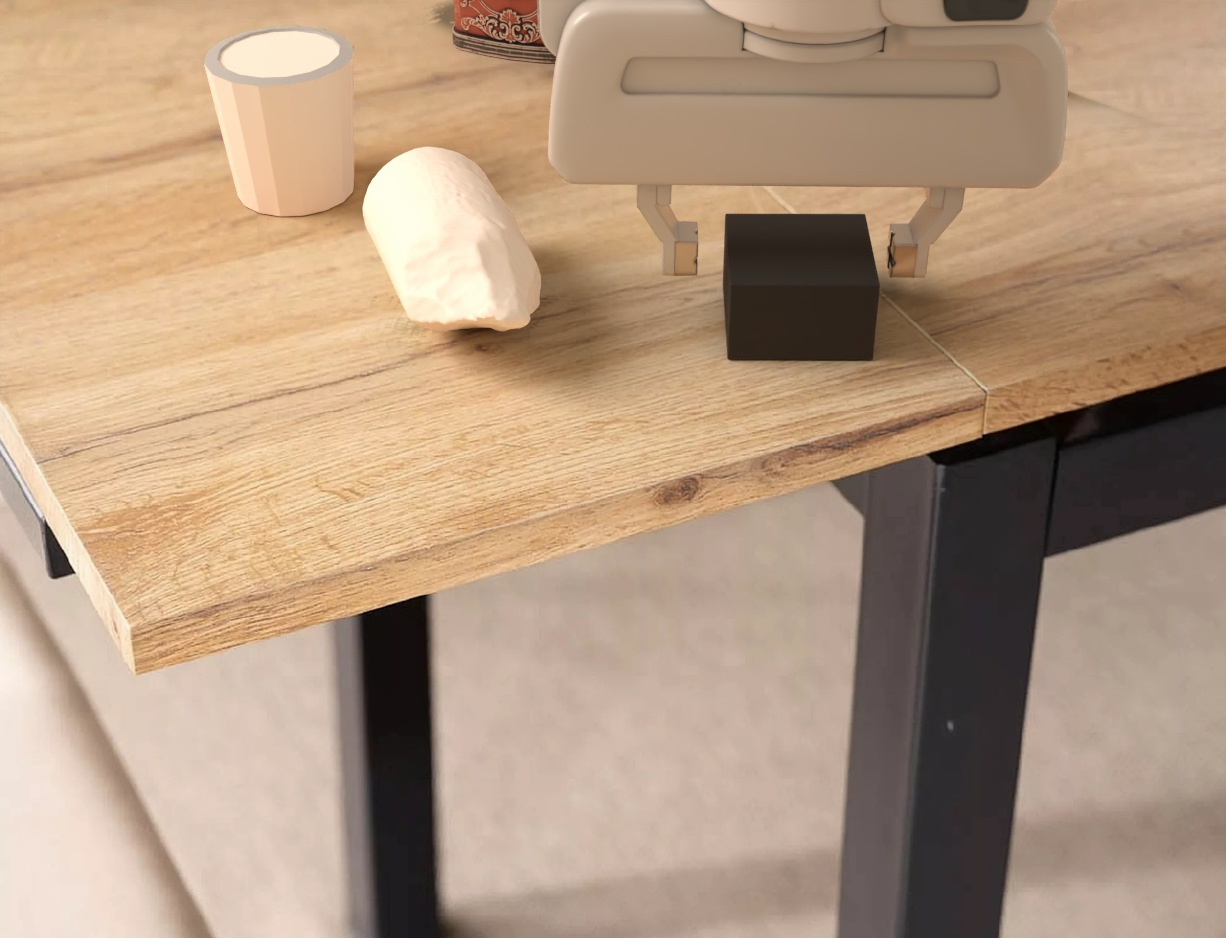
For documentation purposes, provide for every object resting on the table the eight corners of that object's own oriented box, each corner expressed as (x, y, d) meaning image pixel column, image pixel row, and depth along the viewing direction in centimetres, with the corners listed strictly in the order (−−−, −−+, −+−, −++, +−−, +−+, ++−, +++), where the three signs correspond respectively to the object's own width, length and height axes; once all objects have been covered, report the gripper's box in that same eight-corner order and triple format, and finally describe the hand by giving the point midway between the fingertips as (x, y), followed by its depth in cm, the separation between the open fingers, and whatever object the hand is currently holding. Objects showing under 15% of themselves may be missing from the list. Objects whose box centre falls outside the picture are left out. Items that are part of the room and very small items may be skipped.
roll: (429, 408, 69) (418, 287, 66) (366, 265, 79) (354, 151, 75) (573, 381, 71) (570, 261, 68) (495, 243, 80) (489, 131, 77)
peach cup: (231, 231, 81) (210, 91, 77) (218, 166, 86) (197, 31, 82) (378, 211, 83) (364, 73, 78) (356, 149, 88) (342, 15, 84)
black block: (858, 285, 77) (865, 213, 75) (872, 360, 72) (880, 284, 70) (722, 285, 77) (725, 212, 75) (727, 359, 72) (730, 284, 70)
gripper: (530, -26, 62) (540, 307, 71) (1105, -21, 62) (1047, 312, 70) (540, -86, 67) (547, 231, 76) (1071, -82, 67) (1020, 235, 75)
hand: (792, 270), depth 73 cm, fingers open, 8 cm apart
